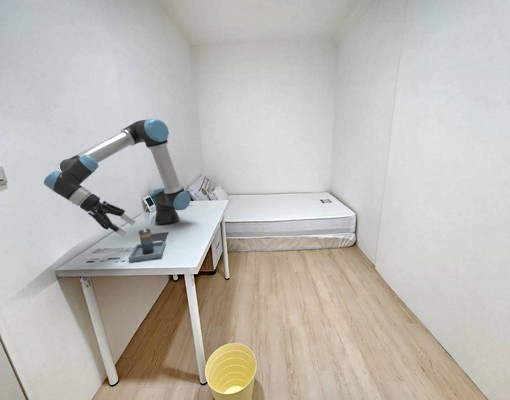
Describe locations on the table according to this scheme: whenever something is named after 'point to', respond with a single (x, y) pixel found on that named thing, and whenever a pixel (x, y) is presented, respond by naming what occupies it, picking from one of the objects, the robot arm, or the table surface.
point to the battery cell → (146, 241)
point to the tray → (139, 256)
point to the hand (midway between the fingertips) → (130, 228)
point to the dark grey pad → (159, 237)
